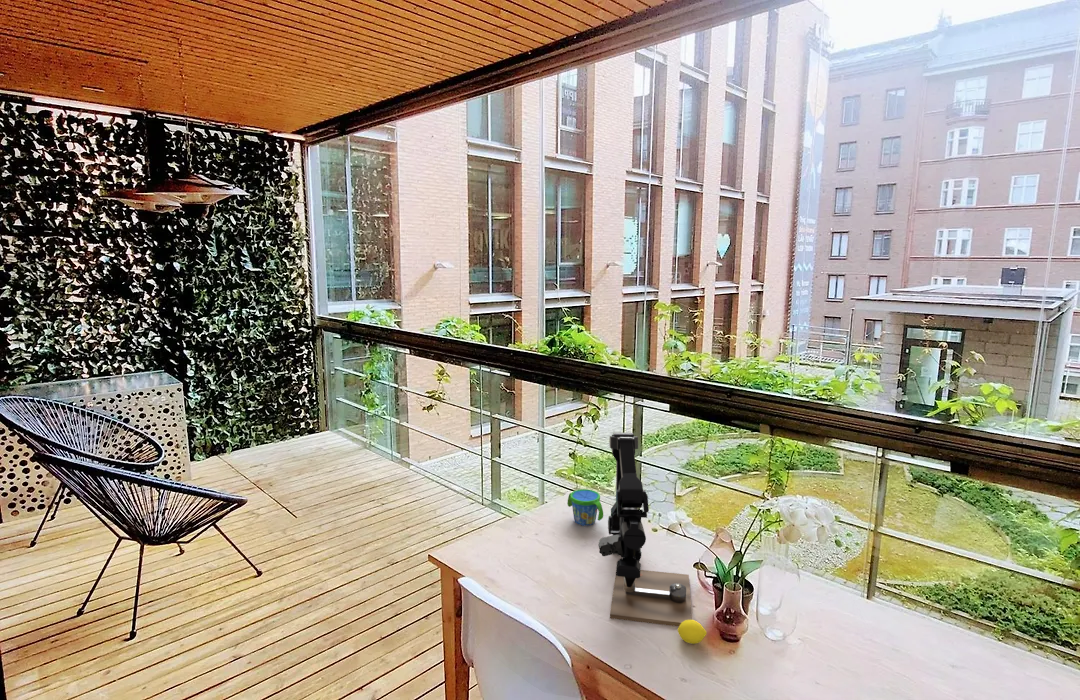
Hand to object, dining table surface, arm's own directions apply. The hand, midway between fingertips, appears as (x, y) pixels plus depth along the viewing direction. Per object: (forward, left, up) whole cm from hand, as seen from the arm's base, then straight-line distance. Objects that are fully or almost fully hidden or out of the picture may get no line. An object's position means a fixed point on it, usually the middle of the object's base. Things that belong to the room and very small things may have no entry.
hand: (629, 583), depth 157 cm
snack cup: (-43, -18, -5) cm, 47 cm away
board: (-1, +6, -4) cm, 8 cm away
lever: (0, +7, -3) cm, 7 cm away
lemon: (+15, +16, -5) cm, 22 cm away
